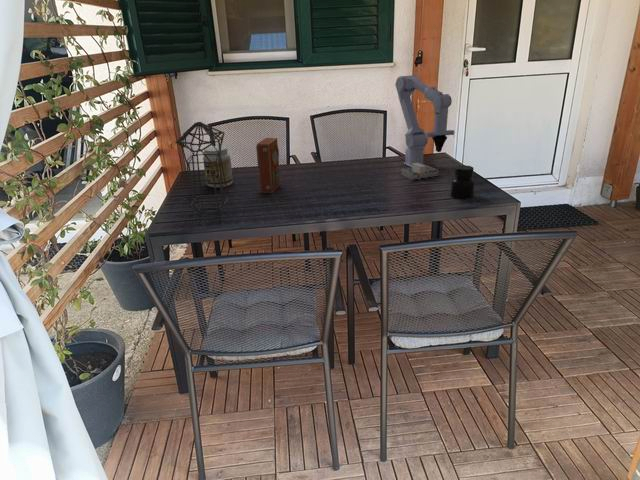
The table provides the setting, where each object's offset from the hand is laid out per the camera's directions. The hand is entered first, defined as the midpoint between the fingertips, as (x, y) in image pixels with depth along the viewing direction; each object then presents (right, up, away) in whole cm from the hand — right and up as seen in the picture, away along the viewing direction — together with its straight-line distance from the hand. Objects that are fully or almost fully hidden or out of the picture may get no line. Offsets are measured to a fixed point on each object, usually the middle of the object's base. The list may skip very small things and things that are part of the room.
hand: (438, 151), depth 215 cm
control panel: (-78, -19, -12) cm, 81 cm away
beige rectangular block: (-10, -12, -2) cm, 15 cm away
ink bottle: (+2, -24, -29) cm, 38 cm away
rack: (-9, -12, -1) cm, 15 cm away
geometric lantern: (-98, -32, -38) cm, 110 cm away
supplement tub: (-103, -16, -3) cm, 104 cm away
